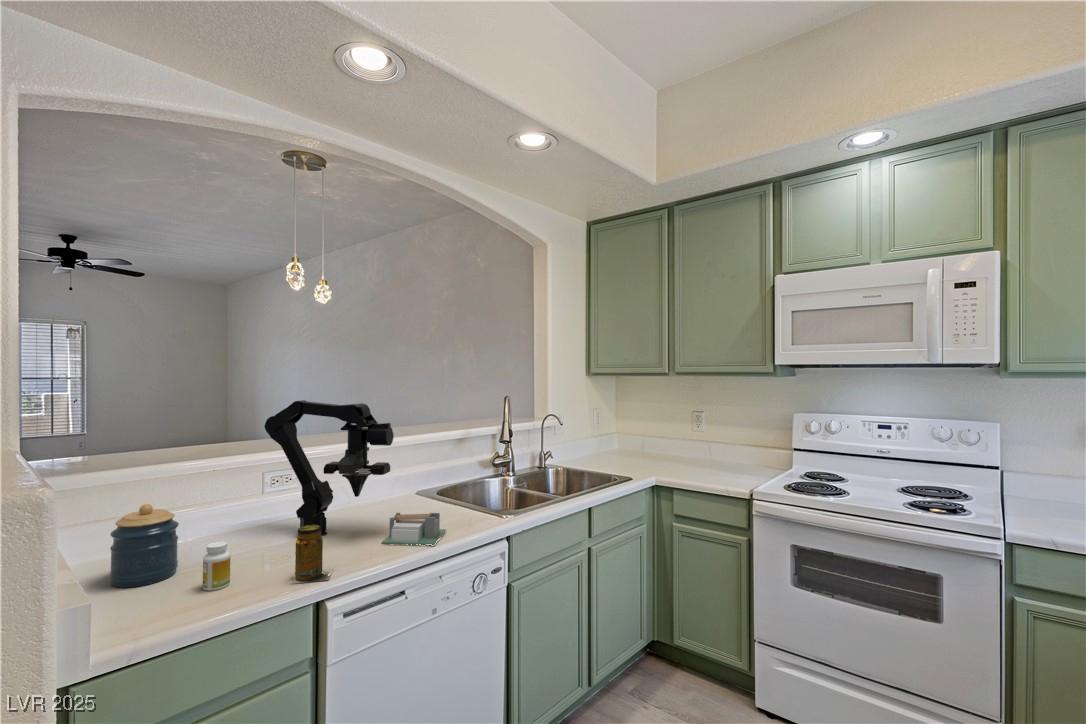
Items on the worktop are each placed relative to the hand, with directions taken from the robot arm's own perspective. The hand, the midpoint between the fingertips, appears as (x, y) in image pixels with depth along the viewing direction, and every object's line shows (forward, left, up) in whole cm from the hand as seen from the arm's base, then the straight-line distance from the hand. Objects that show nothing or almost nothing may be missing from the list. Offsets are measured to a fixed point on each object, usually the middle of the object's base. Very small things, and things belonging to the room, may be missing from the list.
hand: (357, 496), depth 153 cm
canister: (-50, +7, -12) cm, 52 cm away
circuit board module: (+11, -13, -12) cm, 21 cm away
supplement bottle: (-39, -11, -12) cm, 42 cm away
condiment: (-21, -21, -12) cm, 32 cm away
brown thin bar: (+8, -9, -6) cm, 13 cm away
